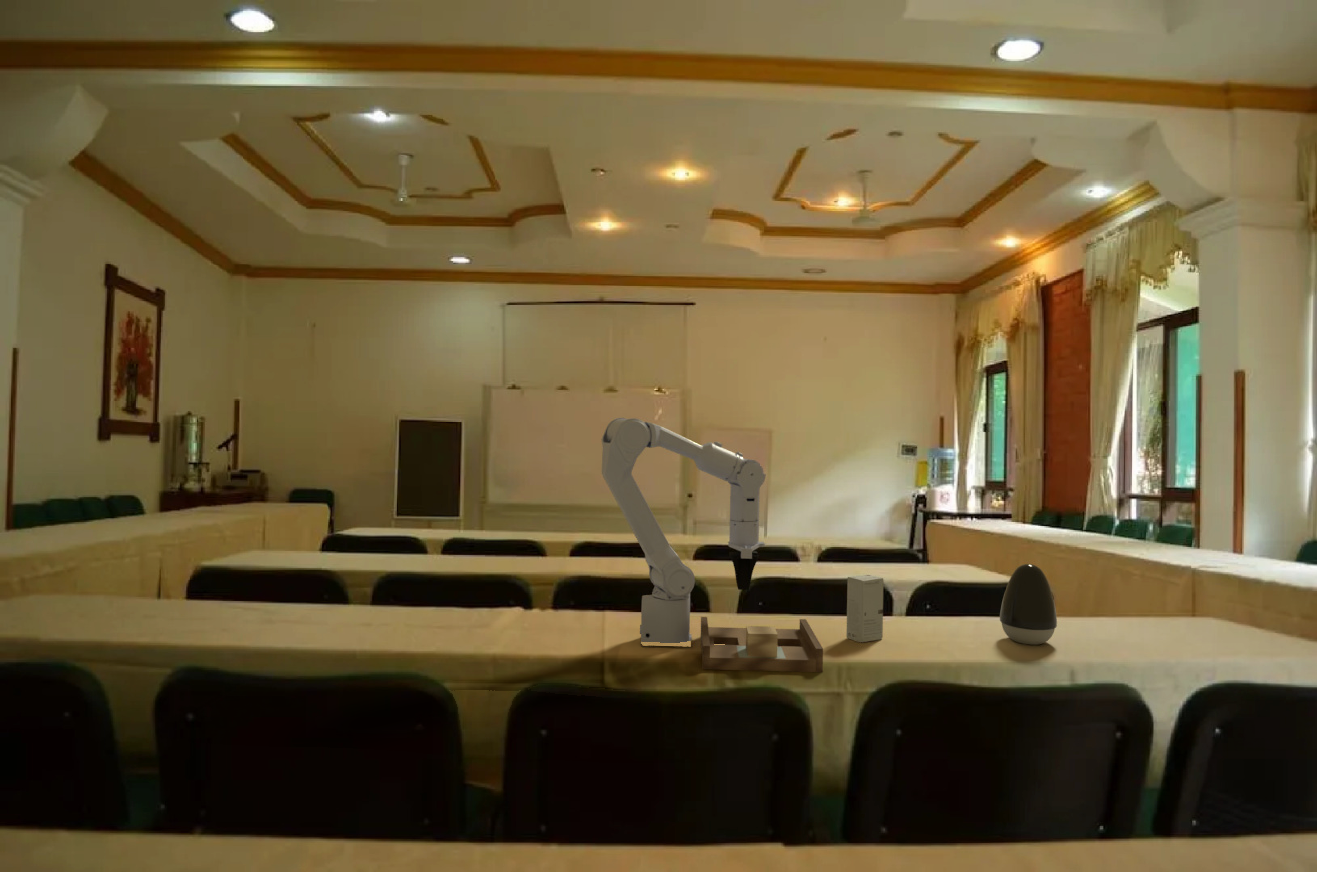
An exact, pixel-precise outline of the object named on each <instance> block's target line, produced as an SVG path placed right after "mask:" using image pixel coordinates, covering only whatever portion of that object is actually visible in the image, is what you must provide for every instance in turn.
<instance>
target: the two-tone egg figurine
mask: <svg viewBox="0 0 1317 872" xmlns="http://www.w3.org/2000/svg"><path fill="white" fill-rule="evenodd" d="M999 621H1000V622H1001V626H1002V629H1003V632H1004V634H1005V635H1006V636H1007V637H1008V638H1009V639H1011V640H1012V641H1014V642H1015V643H1019V644H1023V645H1033V646H1035V645H1037V646H1038V645H1041V644H1045V643H1046V642H1048V641H1049V640H1051V638H1052V637H1053V635H1054V633H1055V630H1056V628H1057V627H1058V617H1057V611H1056V605H1055V601H1054V597H1053V592H1052V589H1051V586H1050V583H1049V580H1048V578H1047V576H1046V574H1045V573H1044V571H1043V570H1042V569H1041V568H1040V567H1038V565H1035V564H1032V563H1026V564H1025V563H1024V564H1021V565H1019V566H1018V567H1016V569H1015V570H1014V571H1013V573H1011V576H1010V578H1009V580H1008V583H1007V585H1006V589H1005V591H1004V594H1003V598H1002V602H1001V607H1000V612H999Z"/></svg>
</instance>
